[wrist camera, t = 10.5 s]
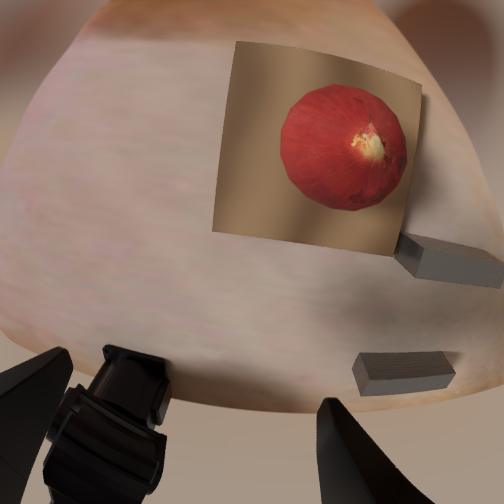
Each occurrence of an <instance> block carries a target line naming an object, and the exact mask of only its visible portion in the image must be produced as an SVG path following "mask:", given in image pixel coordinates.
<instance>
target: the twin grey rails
mask: <svg viewBox="0 0 504 504" xmlns="http://www.w3.org/2000/svg"><path fill="white" fill-rule="evenodd" d="M394 258H395V259H396V260H397V261H398V262H399V263H400V264H401V265H402V266H403V267H404V268H405V269H406V270H407V271H408V272H409V273H411V274H412V275H413V276H414V277H415V278H420V279H428V280H436V281H444V282H452V283H460V284H468V285H476V286H484V287H492V288H500V287H501V284H502V282H503V279H504V263H503V262H501V261H500V260H498V259H497V258H495V257H494V256H492V255H490V254H489V253H487V252H486V251H483V250H479V249H475V248H471V247H467V246H463V245H459V244H455V243H450V242H446V241H441V240H437V239H432V238H428V237H423V236H419V235H414V234H409V233H404V232H401V234H400V238H399V241H398V245H397V249H396V252H395V256H394ZM352 371H353V374H354V377H355V380H356V383H357V386H358V389H359V392H360V396H381V395H394V394H405V393H414V392H423V391H430V390H437V389H443V388H447V386H448V385H449V383H450V382H451V380H452V379H453V377H454V376H455V374H456V372H455V371H454V369H453V368H452V366H451V365H450V363H449V362H448V360H447V359H446V357H445V356H444V354H443V353H442V351H440V352H418V353H359V354H358V356H357V359H356V361H355V363H354V365H353V367H352Z"/></svg>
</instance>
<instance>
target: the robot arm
mask: <svg viewBox="0 0 504 504" xmlns="http://www.w3.org/2000/svg"><path fill="white" fill-rule="evenodd" d="M102 350H103V354H104V358H105V362H104V364H103V365H102V367H101V368H100V370H99V371H98V373H97V374H96V376H95V378H94V379H93V381H92V382H91V384H90V386H89V388H88V389H87V390H86V389H85V388H84V386H82V385H81V384H78V385H77V387H76V388H71V387H69V388H68V390H67V391H66V393H65V390H66V387H67V385H68V382H69V380H70V377H71V374H72V372H73V363H72V360H71V357H70V354H69V352H68V350H67V349H65V348H62V347H60V346H58V347H55V348H53V349H51V350H49V351H46V352H44V353H42V354H40V355H38V356H36V357H34V358H31V359H29V360H28V361H25V362H23V363H21V364H19V365H16V366H14V367H12V368H10V369H8V370H6V371H4V372H1V373H0V504H20V503H21V499H22V496H23V493H24V490H25V487H26V484H27V481H28V478H29V475H30V473H31V470H32V467H33V465H34V462H35V460H36V457H37V455H38V452H39V449H40V447H41V445H42V442H43V440H44V438H45V436H46V439H47V440H48V441H50V442H51V443H52V445H51V447H50V450H49V452H48V454H47V456H46V458H45V460H44V463H43V467H44V468H43V478H44V483H45V484H46V485H47V486H48V489H49V493H50V496H51V501H50V504H141V503H142V501H143V499H144V497H145V495H150V494H151V493H153V491H154V490H155V489H156V487H157V486H158V484H159V481H160V479H161V477H162V473H163V468H164V459H165V449H166V441H167V436H166V435H164V434H162V433H161V434H160V433H158V432H156V431H154V428H155V425H158V426H160V425H162V423H163V420H164V417H165V414H166V411H167V408H168V405H169V402H170V399H171V396H172V394H171V384H170V380H169V378H167V370H166V362H165V361H164V360H163V359H160V358H156V357H152V356H147V355H143V354H139V353H135V352H131V351H127V350H124V349H120V348H116V347H113V346H109V345H105V346H104V347H103V349H102ZM159 363H160V364H159ZM64 393H65V394H64ZM47 431H48V432H47ZM46 433H47V435H46ZM317 464H318V473H319V482H320V491H321V500H322V504H435V503H434V502H432V501H431V500H430V499H429V498H427V497H426V496H425V495H424V494H423V493H421V492H420V491H419V490H418V489H417V488H416V487H415V486H414V485H413V484H412V483H411V482H410V481H409V480H408V479H407V478H406V477H405V476H404V475H403V474H402V473H401V472H400V471H399V469H398V468H396V466H395V465H394V464H393V463H392V462H391V461H390V459H389V458H388V457H387V456H386V455H385V454H384V452H383V451H382V450H381V449H380V448H379V447H378V445H376V443H375V442H374V441H373V440H372V438H371V437H370V436H369V435H368V434H367V433H366V431H365V430H364V429H363V428H362V427H361V426H360V424H359V423H358V422H357V421H356V420H355V419H354V417H353V416H352V415H351V414H350V412H349V411H348V410H347V409H346V408H345V407H344V405H343V404H342V403H341V402H340V400H339V399H338V398H335V397H327V398H325V399H324V400H323V402H322V404H321V406H320V408H319V410H318V412H317Z"/></svg>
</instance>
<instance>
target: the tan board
mask: <svg viewBox="0 0 504 504" xmlns="http://www.w3.org/2000/svg"><path fill="white" fill-rule="evenodd" d="M331 84H338V85H345V86H350V87H356V88H361V89H363V90H365V91H367V92H369V93H371V94H373V95H375V96H377V97H379V98H381V99H382V100H383V101H384V102H385V103H386V105H387V106H388V107H389V108H390V109H391V110H392V111H393V112H394V114H395V115H396V116H397V118H398V120H399V123H400V126H401V128H402V131H403V133H404V135H405V138H406V149H407V161H408V162H407V166H406V168H405V171H404V173H403V175H402V177H401V180H400V182H399V184H398V186H397V188H395V189H394V190H393V191H392V192H391V193H390V194H389V195H388V196H387V197H386V198H385V199H384V200H383V201H381V202H380V203H379V204H376V205H373V206H370V207H367V208H363V209H360V210H357V211H347V210H338V209H331V208H328V207H326V206H324V205H322V204H320V203H318V202H316V201H313V200H311V199H309V198H307V197H306V196H305V195H304V194H303V193H302V192H301V191H300V190H299V189H298V188H297V187H296V186H295V185H294V184H293V183H292V182H291V181H290V180H289V178H288V175H287V173H286V170H285V167H284V165H283V162H282V159H281V157H280V139H281V129H282V126H283V124H284V122H285V120H286V117H287V115H288V113H289V111H290V108H291V107H293V106H294V105H295V104H296V103H297V102H298V101H299V100H300V99H301V98H302V97H303V96H304V95H305V94H306V93H308V92H311V91H313V90H316V89H319V88H322V87H325V86H328V85H331ZM421 95H422V85H421V84H419V83H416V82H414V81H411V80H409V79H406V78H404V77H401V76H399V75H396V74H393V73H391V72H388V71H385V70H382V69H379V68H376V67H373V66H370V65H367V64H363V63H360V62H357V61H353V60H349V59H346V58H342V57H338V56H334V55H329V54H325V53H321V52H316V51H311V50H306V49H300V48H294V47H288V46H281V45H273V44H265V43H255V42H242V41H236V46H235V52H234V58H233V64H232V71H231V77H230V84H229V90H228V97H227V104H226V111H225V119H224V126H223V134H222V142H221V150H220V159H219V168H218V177H217V186H216V196H215V206H214V216H213V227H212V231H213V232H221V233H229V234H236V235H244V236H251V237H259V238H266V239H273V240H281V241H288V242H295V243H302V244H309V245H316V246H323V247H330V248H337V249H343V250H350V251H357V252H363V253H370V254H376V255H383V256H389V257H393V254H394V251H395V247H396V244H397V240H398V236H399V232H400V228H401V224H402V220H403V216H404V212H405V207H406V203H407V198H408V193H409V188H410V183H411V178H412V172H413V166H414V160H415V153H416V146H417V139H418V130H419V121H420V110H421Z"/></svg>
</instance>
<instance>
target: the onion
mask: <svg viewBox="0 0 504 504" xmlns="http://www.w3.org/2000/svg"><path fill="white" fill-rule="evenodd" d="M280 157H281V159H282V162H283V165H284V167H285V170H286V173H287V175H288V178H289V180H290V181H291V182H292V183H293V184H294V185H295V186H296V187H297V188H298V189H299V190H300V191H301V192H302V193H303V194H304V195H305V196H306V197H307V198H309V199H311V200H313V201H316V202H318V203H320V204H322V205H324V206H326V207H328V208H331V209H338V210H347V211H357V210H360V209H363V208H367V207H370V206H373V205H376V204H379V203H380V202H381V201H383V200H384V199H385V198H386V197H387V196H388V195H389V194H390V193H391V192H392V191H393V190H394V189H395V188H397V186H398V184H399V182H400V180H401V177H402V175H403V173H404V171H405V168H406V166H407V162H408V161H407V149H406V138H405V135H404V133H403V131H402V128H401V126H400V123H399V120H398V118H397V116H396V115H395V114H394V112H393V111H392V110H391V109H390V108H389V107H388V106H387V105H386V103H385V102H384V101H383V100H382V99H381V98H379V97H377V96H375V95H373V94H371V93H369V92H367V91H365V90H363V89H361V88H356V87H350V86H345V85H338V84H331V85H328V86H325V87H322V88H319V89H316V90H313V91H311V92H308V93H306V94H305V95H304V96H303V97H302V98H301V99H300V100H299V101H298V102H297V103H296V104H295V105H294V106H293V107H291V108H290V111H289V113H288V115H287V117H286V120H285V122H284V124H283V126H282V129H281V139H280Z"/></svg>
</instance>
